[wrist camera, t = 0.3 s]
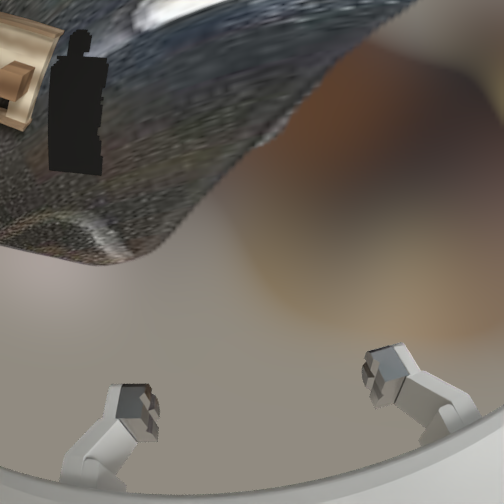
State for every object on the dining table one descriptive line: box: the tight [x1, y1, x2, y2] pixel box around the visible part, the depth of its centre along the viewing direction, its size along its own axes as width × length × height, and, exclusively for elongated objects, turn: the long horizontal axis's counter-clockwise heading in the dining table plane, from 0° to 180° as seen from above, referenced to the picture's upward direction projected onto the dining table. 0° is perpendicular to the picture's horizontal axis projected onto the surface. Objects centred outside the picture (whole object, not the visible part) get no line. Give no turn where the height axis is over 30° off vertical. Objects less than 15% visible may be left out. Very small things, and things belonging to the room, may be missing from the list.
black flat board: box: [48, 30, 109, 176], centre depth 47 cm, size 12×1×30 cm
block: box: [0, 60, 36, 102], centre depth 35 cm, size 5×5×5 cm
